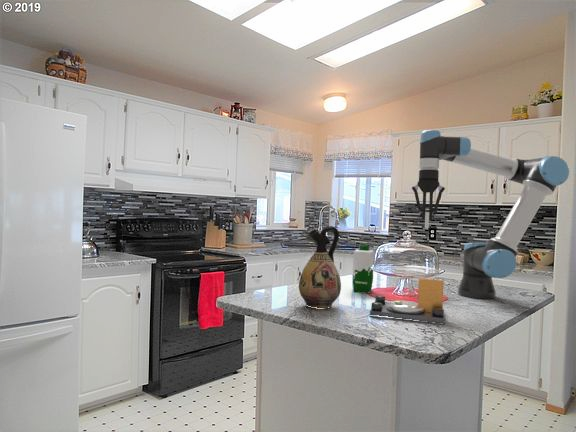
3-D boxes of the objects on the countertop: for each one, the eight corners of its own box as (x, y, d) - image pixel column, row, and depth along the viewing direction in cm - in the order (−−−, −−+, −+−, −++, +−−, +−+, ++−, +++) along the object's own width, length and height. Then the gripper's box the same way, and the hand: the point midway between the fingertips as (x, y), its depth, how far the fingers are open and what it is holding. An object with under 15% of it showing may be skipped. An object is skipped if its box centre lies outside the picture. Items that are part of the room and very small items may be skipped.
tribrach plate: (442, 312, 158) (442, 301, 158) (444, 324, 142) (444, 311, 142) (375, 306, 165) (375, 294, 165) (369, 316, 149) (370, 304, 149)
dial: (384, 311, 148) (385, 278, 148) (388, 303, 161) (389, 273, 160) (442, 317, 142) (444, 283, 142) (441, 308, 155) (443, 277, 154)
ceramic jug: (305, 312, 152) (308, 226, 151) (293, 302, 167) (295, 224, 166) (351, 311, 156) (354, 227, 155) (335, 301, 171) (337, 224, 170)
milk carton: (373, 290, 197) (375, 245, 196) (371, 293, 188) (372, 247, 188) (353, 288, 199) (355, 244, 199) (350, 292, 191) (352, 246, 190)
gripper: (445, 170, 178) (443, 228, 178) (412, 170, 181) (410, 227, 182) (446, 168, 170) (444, 229, 171) (411, 168, 174) (409, 227, 175)
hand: (426, 228), depth 177 cm, fingers closed
